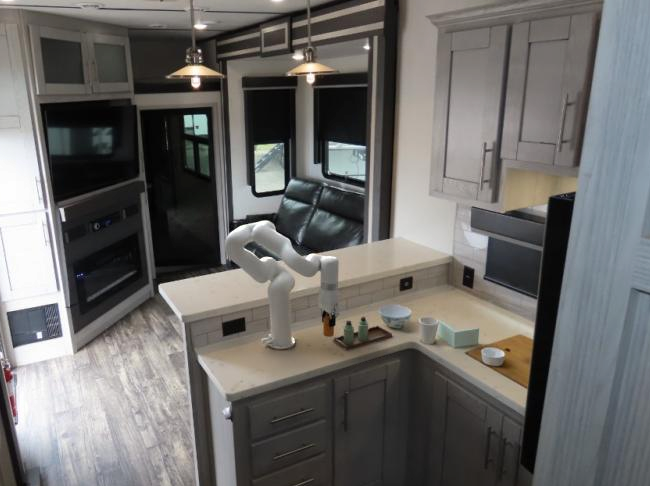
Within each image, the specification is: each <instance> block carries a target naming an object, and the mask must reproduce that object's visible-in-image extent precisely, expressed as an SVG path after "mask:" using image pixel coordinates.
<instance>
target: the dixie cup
mask: <svg viewBox="0 0 650 486" xmlns="http://www.w3.org/2000/svg"><path fill="white" fill-rule="evenodd" d="M418 321H419V331H420V340H421V342H422V343H423V344H426V345H433V344H434V343H435V342H436V336H437V332H438V328H439V321H440V320H438V319H437V318H435V317H431V316H423V317H421V318H419V319H418Z"/></svg>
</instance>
